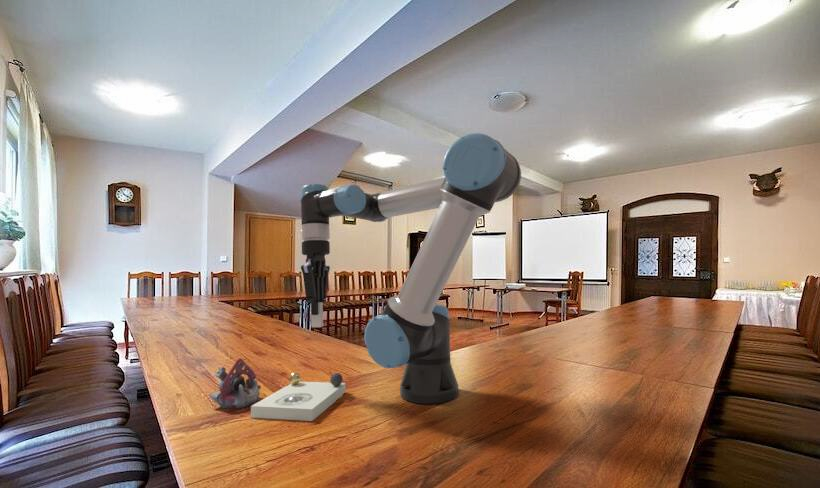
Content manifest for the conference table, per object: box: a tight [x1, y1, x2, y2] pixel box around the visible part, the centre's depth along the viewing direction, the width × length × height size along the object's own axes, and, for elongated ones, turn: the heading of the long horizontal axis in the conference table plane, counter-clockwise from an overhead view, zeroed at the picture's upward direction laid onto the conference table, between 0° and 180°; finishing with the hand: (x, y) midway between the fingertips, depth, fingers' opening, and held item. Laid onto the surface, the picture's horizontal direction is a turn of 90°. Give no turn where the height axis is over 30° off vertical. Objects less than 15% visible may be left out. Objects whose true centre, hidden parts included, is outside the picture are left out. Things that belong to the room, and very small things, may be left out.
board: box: [250, 381, 347, 422], centre depth 88 cm, size 19×15×2 cm
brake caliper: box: [208, 357, 262, 409], centre depth 91 cm, size 11×11×12 cm
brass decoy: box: [288, 371, 302, 385], centre depth 97 cm, size 3×3×3 cm
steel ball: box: [287, 396, 300, 403], centre depth 84 cm, size 3×3×3 cm
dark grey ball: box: [329, 372, 343, 386], centre depth 94 cm, size 3×3×3 cm
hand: (317, 326), depth 97 cm, fingers closed
